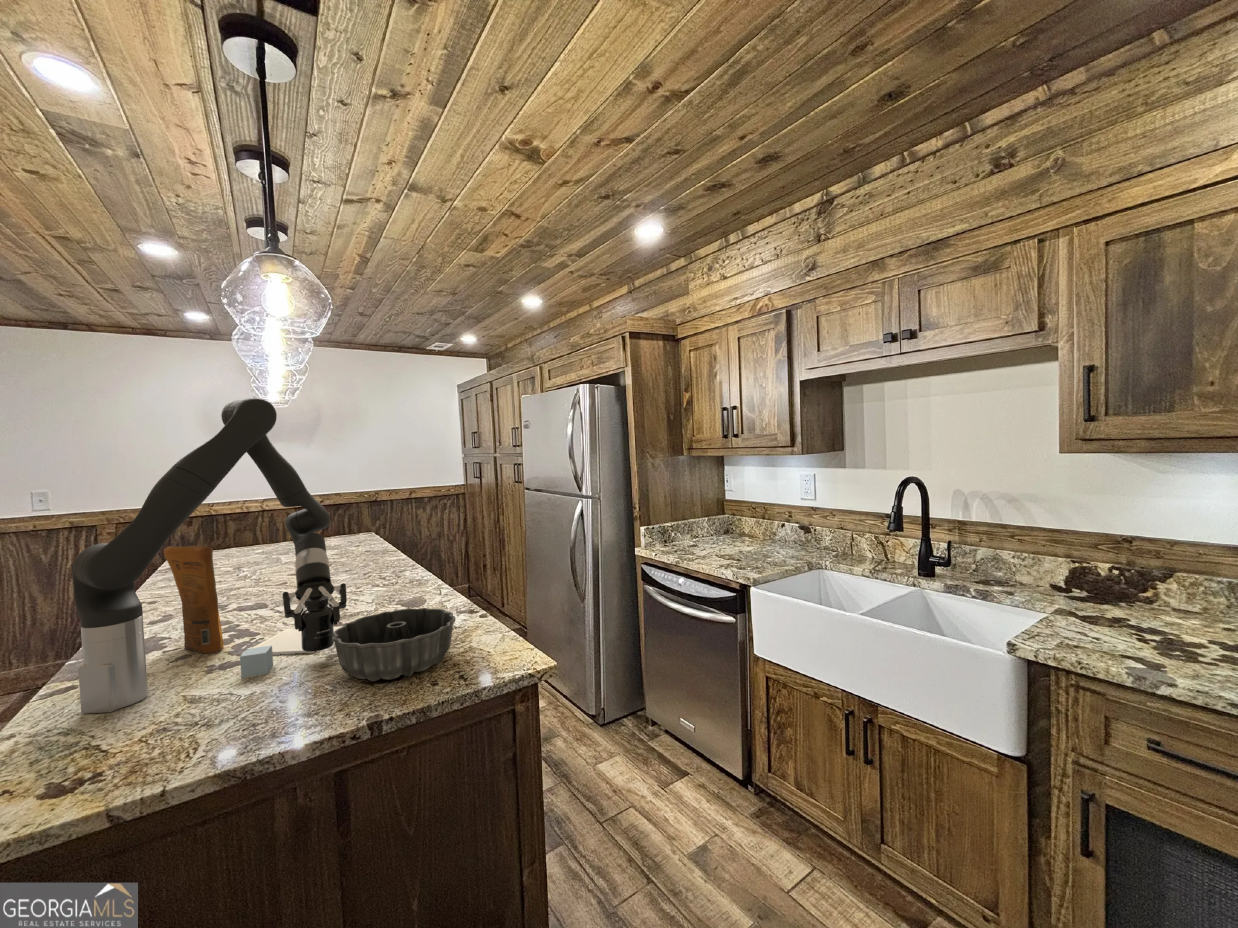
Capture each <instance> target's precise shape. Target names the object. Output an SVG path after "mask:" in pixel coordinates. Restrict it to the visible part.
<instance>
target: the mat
mask: <svg viewBox="0 0 1238 928" xmlns="http://www.w3.org/2000/svg"><path fill="white" fill-rule="evenodd" d="M341 627H343V625H342V626H340V625H339V626H334V631H335V630H337V629H339V628H341ZM271 645H272V654H273V656H284V655H283V654H286V655H296V654H295V653H308V654H314V653H316V651H314V652H307V651H304V650H303V649H302V641H301V631H298V630H296V629H295V627H294V628H286V629H284V630H283V631H282V630H281V631H280V632H278V633H276V634H275V635H273V636H271V637H268V639H266V640H264V641H262V642H259V643H258V644H256V645H255V646H253V647H250V648H249V649H251V648H258V647H265V646H271ZM244 652H245V651H243V652H241V653H240V654H241V655H242V654H243V653H244ZM291 653H292V654H291ZM280 654H282V655H280Z"/></svg>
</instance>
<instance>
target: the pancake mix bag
mask: <svg viewBox="0 0 1238 928" xmlns="http://www.w3.org/2000/svg"><path fill="white" fill-rule="evenodd" d="M213 551H214V548H211V547H209V546H204V545H202V546H201V545H186V546H169V545H168V546H167V547H166V548H165V549H164V550H163V555H164V558H165V559H166V562H167V563H168V565H169V567H170V570H171V573H172V575H173V578H174V582H175V585H176V586H175V587H177V591H178V593H179V597H180V601H181V614H182V623H183V624H182V625H183V633H184V637H183V639H184V649H185V650H190V651H194V652H198V653H200V654H212V653H218V652H222V651H223V649H224V648H225V647H224V643H225V642H224V639H223V638H224V637H223V630H222V624H221V623H222V622H221V619H220V611H219V597H218V593H217V592H218V591H217V583H216V576H215V567H214V558H213V557H214V556H213V555H214V553H213Z"/></svg>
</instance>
